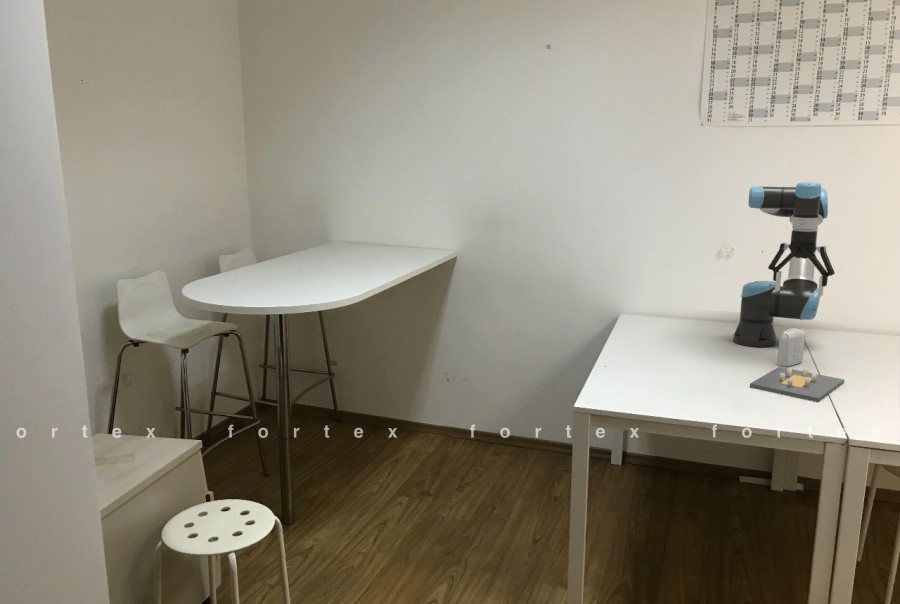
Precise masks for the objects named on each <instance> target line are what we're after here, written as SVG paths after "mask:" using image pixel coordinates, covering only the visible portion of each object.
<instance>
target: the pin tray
mask: <svg viewBox="0 0 900 604" xmlns="http://www.w3.org/2000/svg"><path fill="white" fill-rule="evenodd" d="M843 383H844V384H845V379H844V378H839V377H838V378H837V377H833V376H828V375H823V374H818V373H813V372H809V369H808V368H806V367H805V368H803V369H802V370H798V369H793V368H787V367H784V366H778V367H776V368H775V369H772V370H771V371H769V372H767V373H766V374H764V375H763V376H761V377H759V378H757V379H755V380H754V381H752V382H750V383H749V388H752V389H756V390H762V391H766V392H770V393H774V392H775V394H779V393H780V395H783V394H784V396H788V395H789V396H788V397H792V396H793V397H792V398H797V399H801V400H802V399H803V400H806V399H807V401H811V400H812V402H815V401H817V402H816V403H819V402H820V400H821V399H822V400H823V399H824V397H825V396H826V397H827V396H829V395H830V394H831V393H833V392H834V391H835V390H837V389H838V388H840V387H841V386H842V385H843ZM840 385H841V386H840ZM839 386H840V387H839ZM837 387H838V388H837ZM836 388H837V389H836ZM833 390H834V391H833ZM832 391H833V392H832ZM829 393H830V394H829ZM828 394H829V395H828ZM826 397H825V398H826ZM822 400H821V401H822Z"/></svg>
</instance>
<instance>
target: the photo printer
mask: <svg viewBox="0 0 900 604" xmlns="http://www.w3.org/2000/svg"><path fill="white" fill-rule="evenodd" d="M805 340H806V333H805V332H804V331H803V330H802V329H800V328H796V327H795V328H794V327H793V328H788V329H787V330H785V331H783V332H781V333H780V336H779V340H778V352H777V361H776V362H777V365H778V366H779V367H783V368H787V367H791V366H794V365H798V364H801V363H803V360H804V348H805Z"/></svg>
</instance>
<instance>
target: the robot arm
mask: <svg viewBox="0 0 900 604" xmlns="http://www.w3.org/2000/svg"><path fill="white" fill-rule="evenodd" d="M828 205H829V202H828V193H827V190H826V189H825V188H823V187H822V185H821V183H820V182H798V183H797V184H796V186H761V185H758V186H752V187H750V188H749V194H748V207H749V208H750V209H759V210H760V211H761V212H762V213H764V214H767V215H770V216H774V217H775V216H776V217H781V218H789V222H790V224H791V228H792V231H791V233H790V234H791V237H790V243H786V242H782V243H780V244H779V250H778V251H777V252H776V254H775V255H774V257H773V258H772V260H771V262H770V263H769V265H768V266H767V269H768V270H771V271H772V272H773V278H772V280H773V281H771V280H759V281H758V280H757V281H751V282H747V283H745V284H743V286H742V291H741V295H740V297H741V301H740V302H741V303H740V310H739V311H740V314H739V321H738V325H737V326H736V328H735V331H734V333H733V337H732V338H733V341H732V342H734V343H736V344H738V345H741V346H746V347H754V348H770V347H775V346H776V345H777V336H776V335H777V334H776V331H775V327H774V318H780V319H781V318H782V319H791V320H792V319H793V320H800V321H802V320H804V321H805V320H806V321H811V320H814V319H815V318H816V315H817V312H818V308H819V305H820V299H821V297H823V296H824V294H823V293H824V287H827V285H828V280H829V279H828V278H829V277H831V276H833V275H835V270H834V268H833V266H832V263H831V261H830V258H829V256H828V253H827V246H826V245H822V246H817V242H818V241H817V240H818V232H819V231H818V230H819V225H821V224H822V223H823V222H824V219H826V218H828V213H829V206H828ZM788 249H789V251H790V252H789V254H788V255H787V256H786V257H785V258H784V259H783V260H781V262H779V261H780V259H781V258H782V256H783V254H784V253H785V251H786V250H788ZM817 252H818V254H820V258H821V259H822V262H823V264H824V265H823V264H822V263H821V261H820V260H819V258H817V256H816V254H817ZM778 262H779V263H778ZM788 263H789V265H788V266H789V267H788V275H787V279H784V281H783V283H782V282H781V281H782V271H780V270H781V269H783V267H784V266H786V265H787V264H788ZM776 265H777V266H776ZM815 268H816V269H817V271H818V272H819V273H820V275H821V276H819V279H818V283H817V282H816V281H815V280H814V279H815V277H814V276H815V275H814V274H815ZM781 283H782V286H781Z"/></svg>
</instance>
